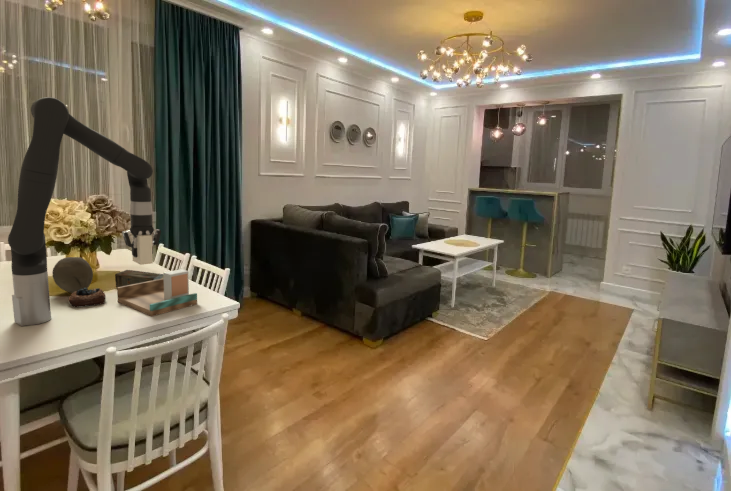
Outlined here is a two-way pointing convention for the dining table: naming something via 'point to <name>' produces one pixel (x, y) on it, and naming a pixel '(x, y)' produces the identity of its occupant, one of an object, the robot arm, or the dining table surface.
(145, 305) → the wooden tray
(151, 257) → the tea box
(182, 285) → the faced tea box
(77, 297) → the pastry
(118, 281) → the dark brown box
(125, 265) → the dining table surface
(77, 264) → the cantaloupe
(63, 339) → the dining table surface
